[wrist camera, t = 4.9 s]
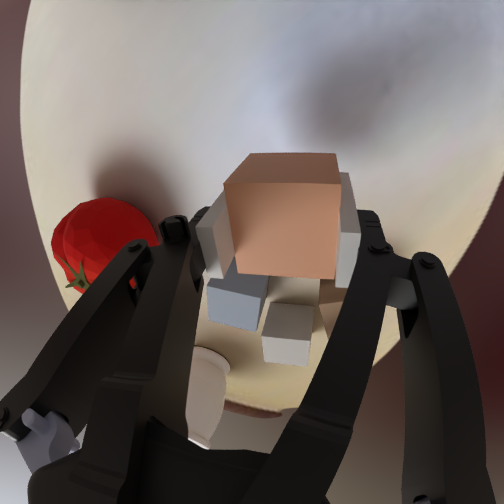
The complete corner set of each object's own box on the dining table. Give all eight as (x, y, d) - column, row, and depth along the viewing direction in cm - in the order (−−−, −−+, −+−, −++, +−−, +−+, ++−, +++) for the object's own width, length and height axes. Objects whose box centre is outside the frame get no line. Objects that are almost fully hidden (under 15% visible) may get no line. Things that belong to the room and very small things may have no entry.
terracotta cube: (250, 153, 16) (223, 183, 12) (335, 153, 14) (341, 184, 10) (258, 225, 18) (237, 273, 14) (333, 228, 17) (334, 279, 13)
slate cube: (223, 253, 28) (206, 285, 24) (271, 263, 28) (260, 298, 24) (223, 288, 31) (208, 320, 27) (265, 297, 31) (255, 332, 27)
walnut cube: (320, 268, 27) (318, 304, 23) (370, 260, 25) (375, 296, 21) (330, 303, 29) (328, 339, 25) (374, 297, 27) (378, 333, 23)
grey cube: (270, 301, 31) (261, 336, 27) (314, 305, 30) (310, 341, 26) (272, 329, 34) (264, 361, 30) (311, 332, 32) (307, 366, 29)
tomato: (101, 161, 25) (31, 205, 17) (194, 223, 27) (141, 292, 19) (87, 230, 32) (37, 278, 24) (161, 283, 34) (121, 344, 26)
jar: (217, 381, 47) (191, 451, 35) (169, 353, 45) (134, 424, 33) (249, 366, 40) (222, 452, 28) (193, 332, 38) (152, 421, 26)
